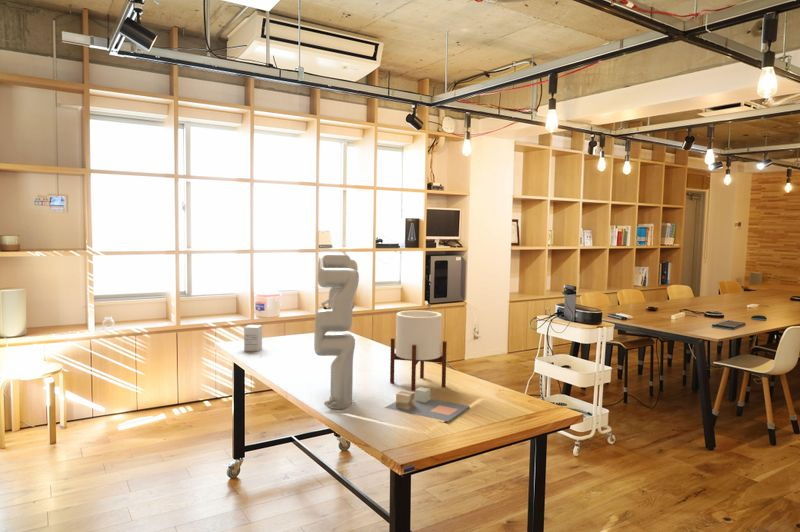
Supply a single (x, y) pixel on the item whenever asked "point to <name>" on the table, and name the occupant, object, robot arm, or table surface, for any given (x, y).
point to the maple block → (405, 399)
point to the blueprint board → (434, 409)
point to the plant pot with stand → (418, 342)
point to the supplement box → (252, 338)
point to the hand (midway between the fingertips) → (338, 319)
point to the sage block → (422, 394)
